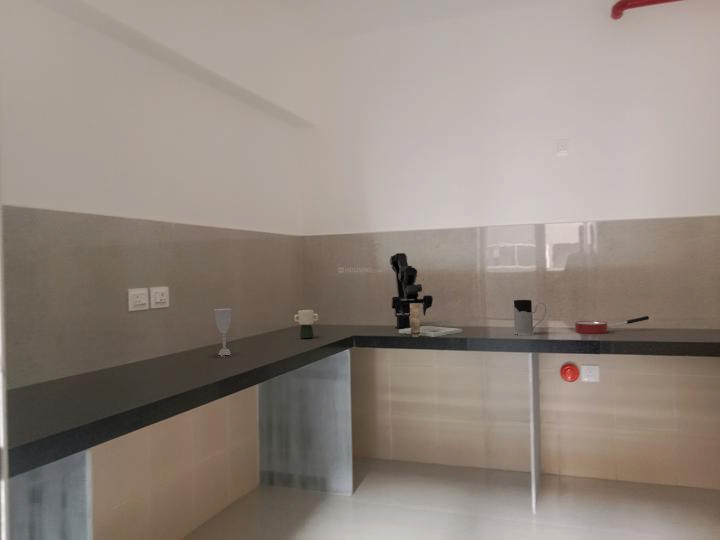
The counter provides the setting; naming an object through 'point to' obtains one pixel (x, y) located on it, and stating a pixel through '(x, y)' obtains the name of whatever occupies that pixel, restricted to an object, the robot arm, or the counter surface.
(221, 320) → the chalice
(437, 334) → the seat board
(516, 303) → the grey mug
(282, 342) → the counter surface
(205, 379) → the counter surface
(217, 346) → the counter surface
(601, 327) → the frying pan
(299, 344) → the counter surface
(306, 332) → the trophy cup
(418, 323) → the beech peg
